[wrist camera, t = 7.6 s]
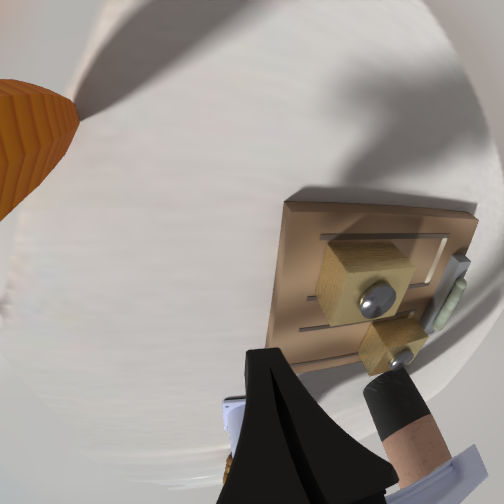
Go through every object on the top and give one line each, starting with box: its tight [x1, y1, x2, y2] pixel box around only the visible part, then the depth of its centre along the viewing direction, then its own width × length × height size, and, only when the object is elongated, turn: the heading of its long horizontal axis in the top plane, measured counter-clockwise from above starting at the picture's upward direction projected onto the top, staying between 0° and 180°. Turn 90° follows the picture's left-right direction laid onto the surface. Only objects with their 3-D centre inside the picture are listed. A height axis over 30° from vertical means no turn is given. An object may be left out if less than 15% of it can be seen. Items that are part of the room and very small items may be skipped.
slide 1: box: [315, 242, 416, 326], centre depth 16 cm, size 4×5×4 cm
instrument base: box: [265, 202, 479, 374], centre depth 20 cm, size 16×18×4 cm
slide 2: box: [358, 315, 428, 377], centre depth 21 cm, size 4×5×4 cm
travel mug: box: [363, 368, 452, 489], centre depth 25 cm, size 8×8×20 cm
